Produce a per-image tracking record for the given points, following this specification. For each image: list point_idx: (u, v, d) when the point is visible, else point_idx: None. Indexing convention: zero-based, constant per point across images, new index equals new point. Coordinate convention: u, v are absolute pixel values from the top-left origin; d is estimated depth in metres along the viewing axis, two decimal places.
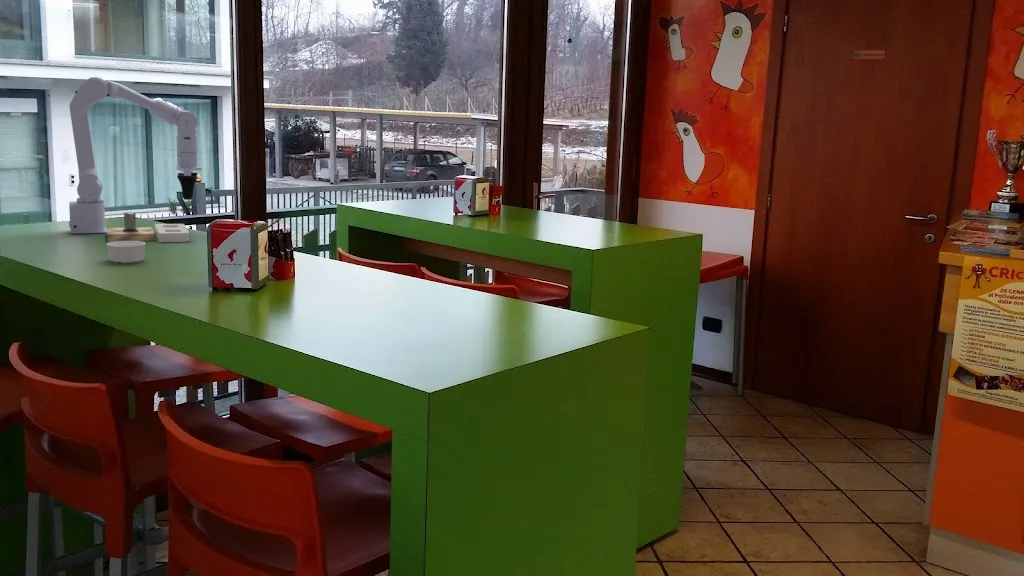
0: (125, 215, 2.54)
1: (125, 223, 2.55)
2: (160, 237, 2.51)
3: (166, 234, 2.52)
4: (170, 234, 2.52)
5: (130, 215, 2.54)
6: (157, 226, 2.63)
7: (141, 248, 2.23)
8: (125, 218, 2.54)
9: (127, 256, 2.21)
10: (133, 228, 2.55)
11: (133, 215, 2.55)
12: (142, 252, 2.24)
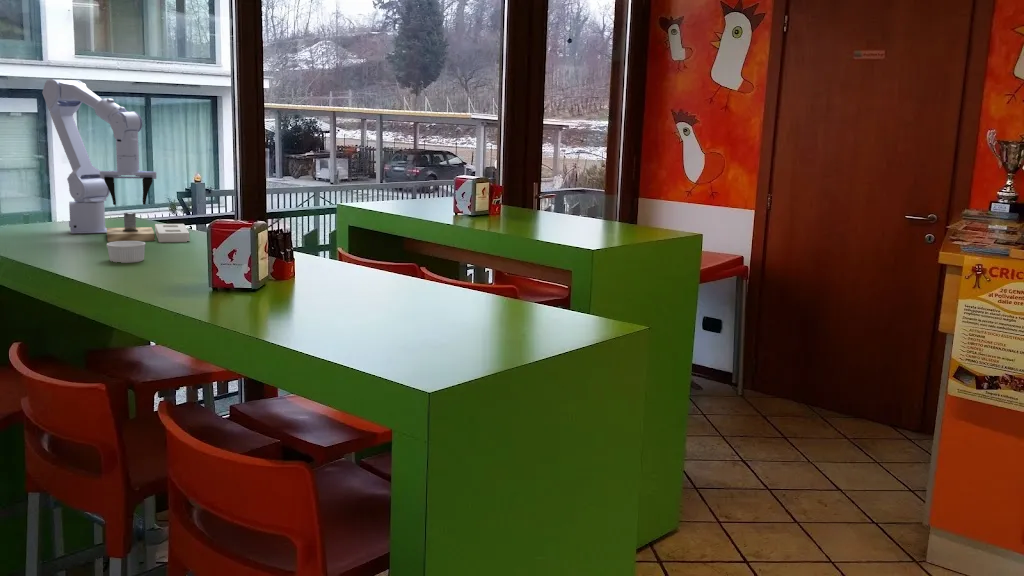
0: (125, 215, 2.54)
1: (125, 223, 2.55)
2: (160, 237, 2.51)
3: (166, 234, 2.52)
4: (170, 234, 2.52)
5: (130, 215, 2.54)
6: (157, 226, 2.63)
7: (141, 248, 2.23)
8: (125, 218, 2.54)
9: (127, 256, 2.21)
10: (133, 228, 2.55)
11: (133, 215, 2.55)
12: (142, 252, 2.24)
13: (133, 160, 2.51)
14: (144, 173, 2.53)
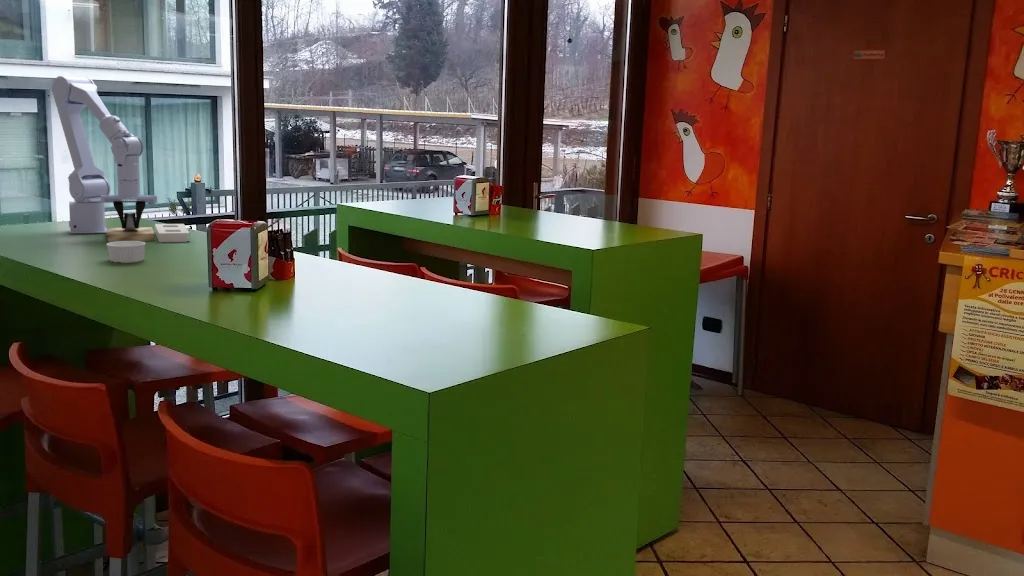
0: (125, 215, 2.54)
1: (125, 223, 2.55)
2: (160, 237, 2.51)
3: (166, 234, 2.52)
4: (170, 234, 2.52)
5: (130, 215, 2.54)
6: (157, 226, 2.63)
7: (141, 248, 2.23)
8: (125, 218, 2.54)
9: (127, 256, 2.21)
10: (133, 228, 2.55)
11: (133, 215, 2.55)
12: (142, 252, 2.24)
13: (134, 184, 2.52)
14: (145, 197, 2.55)
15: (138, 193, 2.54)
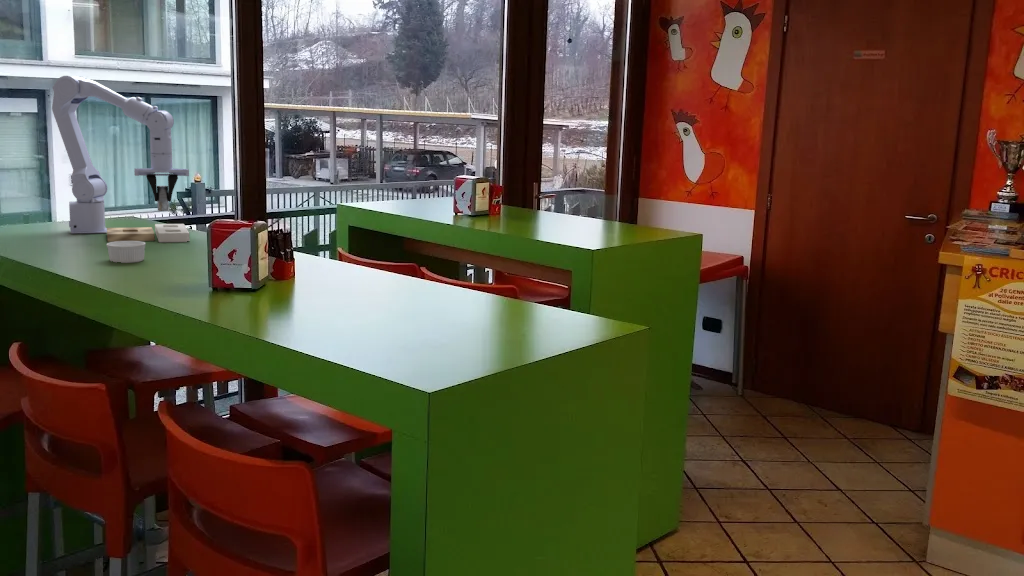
0: (158, 188, 2.59)
1: (158, 196, 2.60)
2: (160, 237, 2.51)
3: (166, 234, 2.52)
4: (170, 234, 2.52)
5: (162, 188, 2.59)
6: (157, 226, 2.63)
7: (141, 248, 2.23)
8: (158, 191, 2.60)
9: (127, 256, 2.21)
10: (165, 201, 2.61)
11: (165, 188, 2.60)
12: (142, 252, 2.24)
13: (167, 158, 2.57)
14: (177, 170, 2.60)
15: (171, 166, 2.59)
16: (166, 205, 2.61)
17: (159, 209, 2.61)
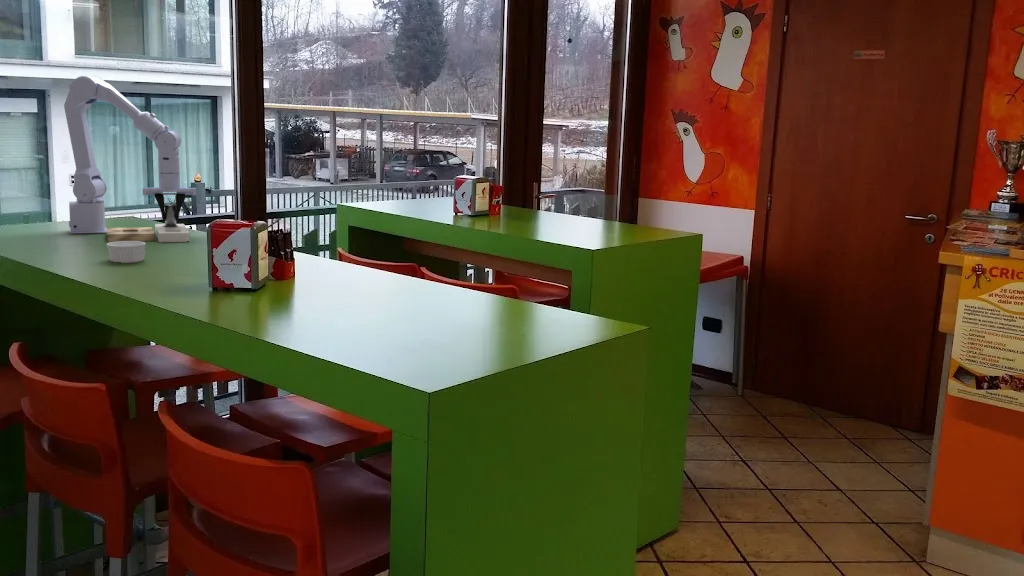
0: (166, 207, 2.62)
1: (165, 215, 2.63)
2: (160, 237, 2.51)
3: (166, 234, 2.52)
4: (170, 234, 2.52)
5: (170, 207, 2.62)
6: (157, 226, 2.63)
7: (141, 248, 2.23)
8: (165, 210, 2.62)
9: (127, 256, 2.21)
10: (173, 220, 2.63)
11: (173, 207, 2.63)
12: (142, 252, 2.24)
13: (174, 177, 2.60)
14: (185, 190, 2.63)
15: (178, 186, 2.62)
16: (174, 224, 2.64)
17: None
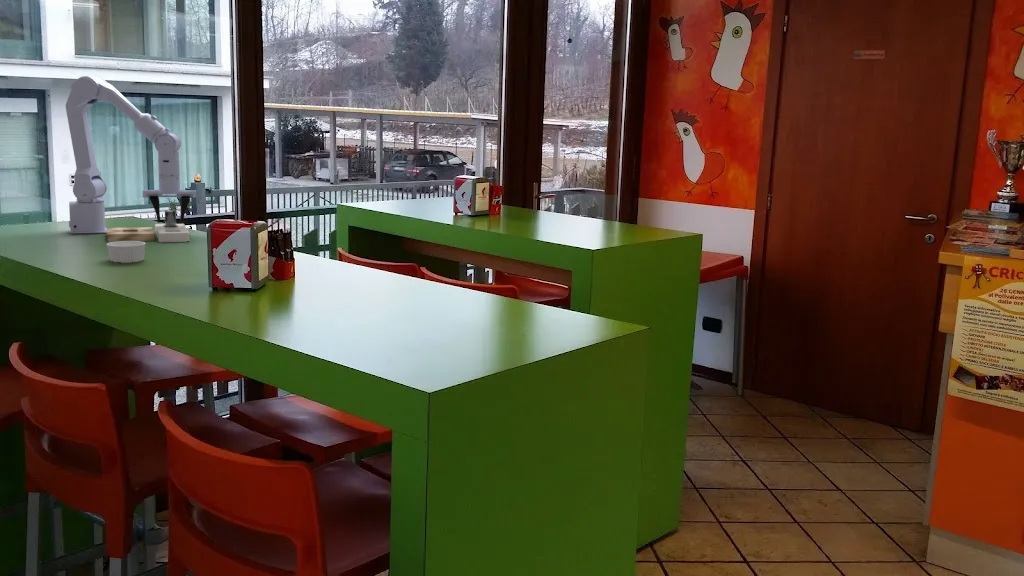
0: (166, 213, 2.63)
1: (166, 220, 2.63)
2: (160, 237, 2.51)
3: (166, 234, 2.52)
4: (170, 234, 2.52)
5: (170, 213, 2.62)
6: (157, 226, 2.63)
7: (141, 248, 2.23)
8: (166, 216, 2.63)
9: (127, 256, 2.21)
10: (173, 225, 2.64)
11: (173, 213, 2.63)
12: (142, 252, 2.24)
13: (175, 180, 2.60)
14: (185, 192, 2.63)
15: (178, 188, 2.62)
16: None
17: None
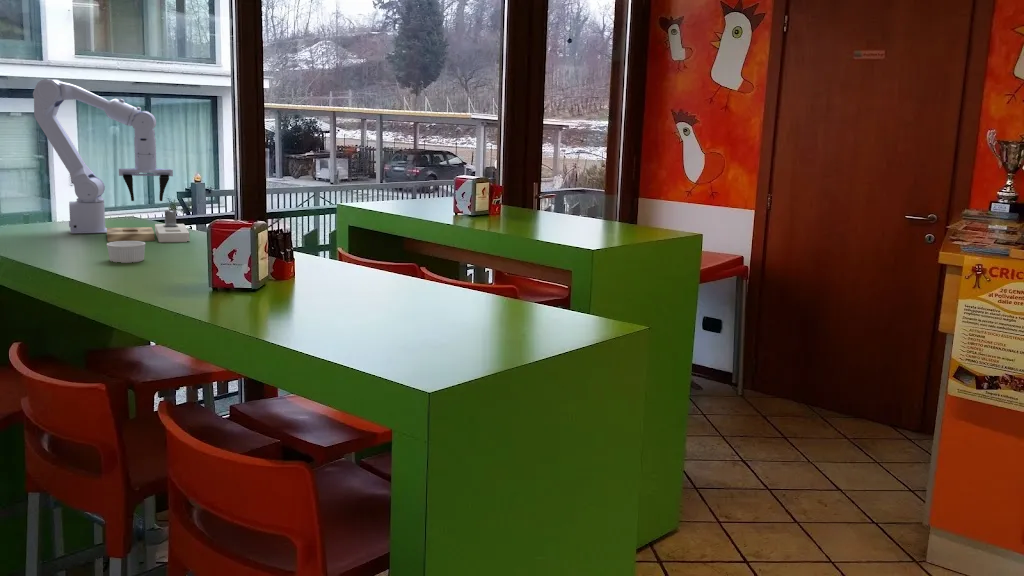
0: (166, 213, 2.63)
1: (166, 220, 2.63)
2: (160, 237, 2.51)
3: (166, 234, 2.52)
4: (170, 234, 2.52)
5: (170, 213, 2.62)
6: (157, 226, 2.63)
7: (141, 248, 2.23)
8: (166, 216, 2.63)
9: (127, 256, 2.21)
10: (173, 225, 2.64)
11: (173, 213, 2.63)
12: (142, 252, 2.24)
13: (151, 158, 2.61)
14: (161, 171, 2.63)
15: (155, 166, 2.63)
16: None
17: None
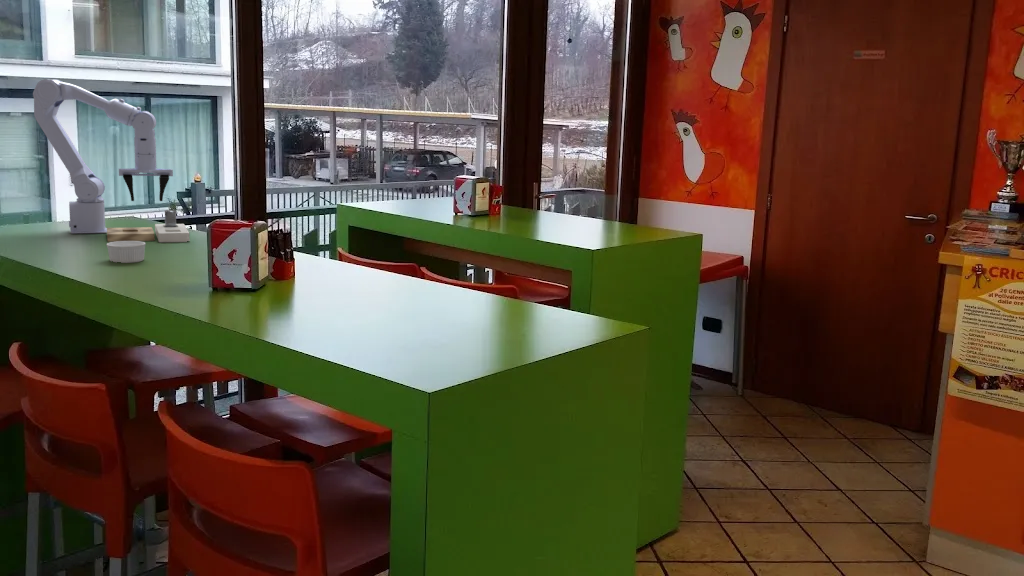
0: (166, 213, 2.63)
1: (166, 220, 2.63)
2: (160, 237, 2.51)
3: (166, 234, 2.52)
4: (170, 234, 2.52)
5: (170, 213, 2.62)
6: (157, 226, 2.63)
7: (141, 248, 2.23)
8: (166, 216, 2.63)
9: (127, 256, 2.21)
10: (173, 225, 2.64)
11: (173, 213, 2.63)
12: (142, 252, 2.24)
13: (151, 158, 2.61)
14: (161, 171, 2.63)
15: (155, 166, 2.63)
16: None
17: None
